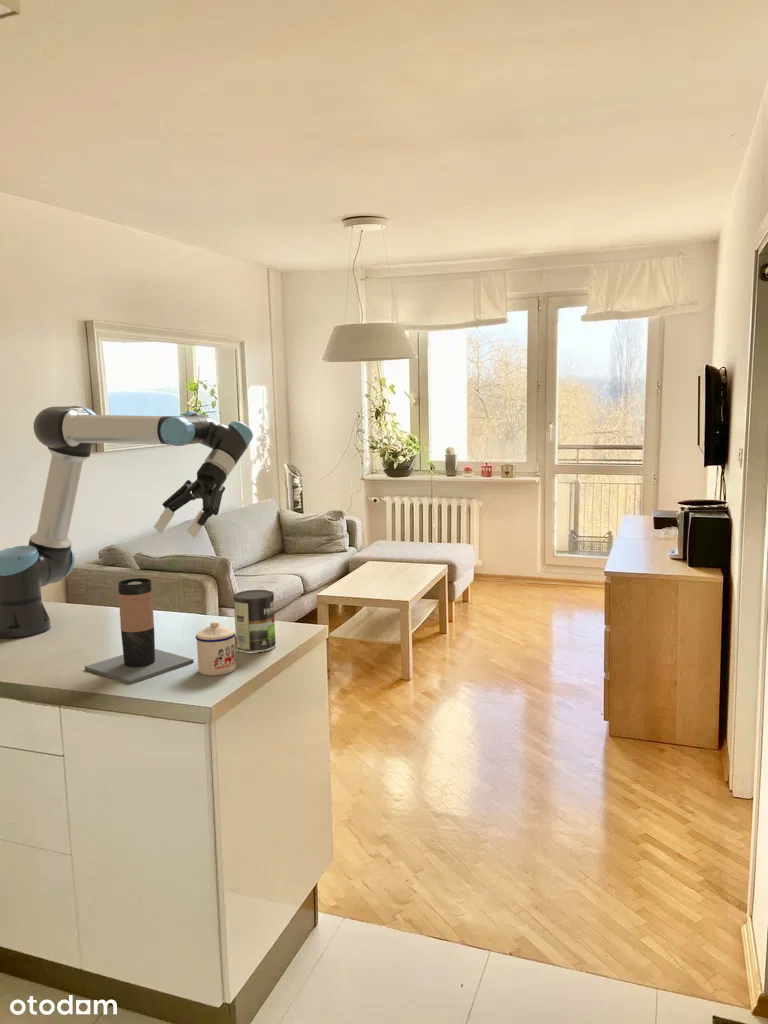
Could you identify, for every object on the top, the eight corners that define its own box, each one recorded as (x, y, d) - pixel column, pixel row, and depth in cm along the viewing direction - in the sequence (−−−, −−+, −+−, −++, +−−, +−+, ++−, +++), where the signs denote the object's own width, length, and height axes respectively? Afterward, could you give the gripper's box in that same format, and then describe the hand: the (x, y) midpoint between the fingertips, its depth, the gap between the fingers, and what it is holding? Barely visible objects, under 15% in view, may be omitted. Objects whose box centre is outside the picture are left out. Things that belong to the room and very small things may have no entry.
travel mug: (163, 659, 189) (158, 579, 187) (141, 669, 183) (135, 586, 180) (138, 656, 193) (133, 577, 190) (116, 665, 186) (110, 583, 183)
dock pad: (84, 669, 186) (84, 666, 186) (148, 650, 200) (147, 647, 200) (130, 684, 175) (129, 680, 175) (193, 662, 189) (193, 659, 189)
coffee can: (281, 642, 204) (279, 589, 202) (268, 654, 194) (265, 599, 192) (244, 640, 206) (242, 588, 204) (229, 652, 196) (226, 598, 194)
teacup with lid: (218, 679, 177) (215, 629, 176) (189, 672, 182) (186, 624, 180) (252, 663, 187) (250, 616, 186) (224, 658, 192) (222, 612, 191)
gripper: (255, 480, 207) (214, 544, 197) (194, 477, 222) (153, 536, 212) (239, 462, 202) (196, 527, 192) (177, 459, 217) (135, 520, 207)
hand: (173, 532), depth 202 cm, fingers open, 13 cm apart
